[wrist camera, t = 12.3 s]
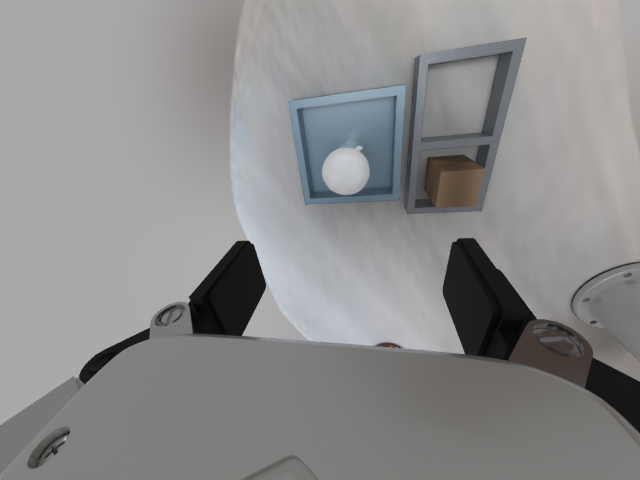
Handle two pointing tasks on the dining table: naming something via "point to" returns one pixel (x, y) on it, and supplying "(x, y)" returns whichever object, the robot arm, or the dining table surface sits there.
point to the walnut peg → (453, 181)
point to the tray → (350, 124)
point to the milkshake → (346, 169)
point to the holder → (486, 139)
